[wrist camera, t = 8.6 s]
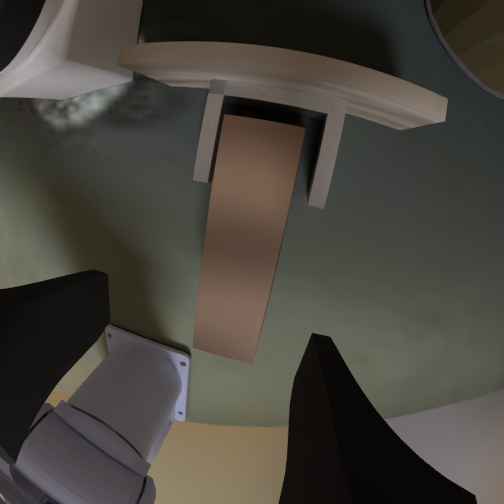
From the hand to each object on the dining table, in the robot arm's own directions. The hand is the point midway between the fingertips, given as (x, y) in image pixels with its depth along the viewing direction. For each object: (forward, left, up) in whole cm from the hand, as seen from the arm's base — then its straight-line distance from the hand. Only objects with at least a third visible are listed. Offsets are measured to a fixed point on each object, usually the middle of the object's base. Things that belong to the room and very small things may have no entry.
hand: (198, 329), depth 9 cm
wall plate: (+9, 0, -9) cm, 13 cm away
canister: (+19, -13, -10) cm, 25 cm away
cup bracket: (+6, 0, -9) cm, 11 cm away
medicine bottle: (+12, +14, -10) cm, 21 cm away
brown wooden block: (+1, 0, -10) cm, 10 cm away
